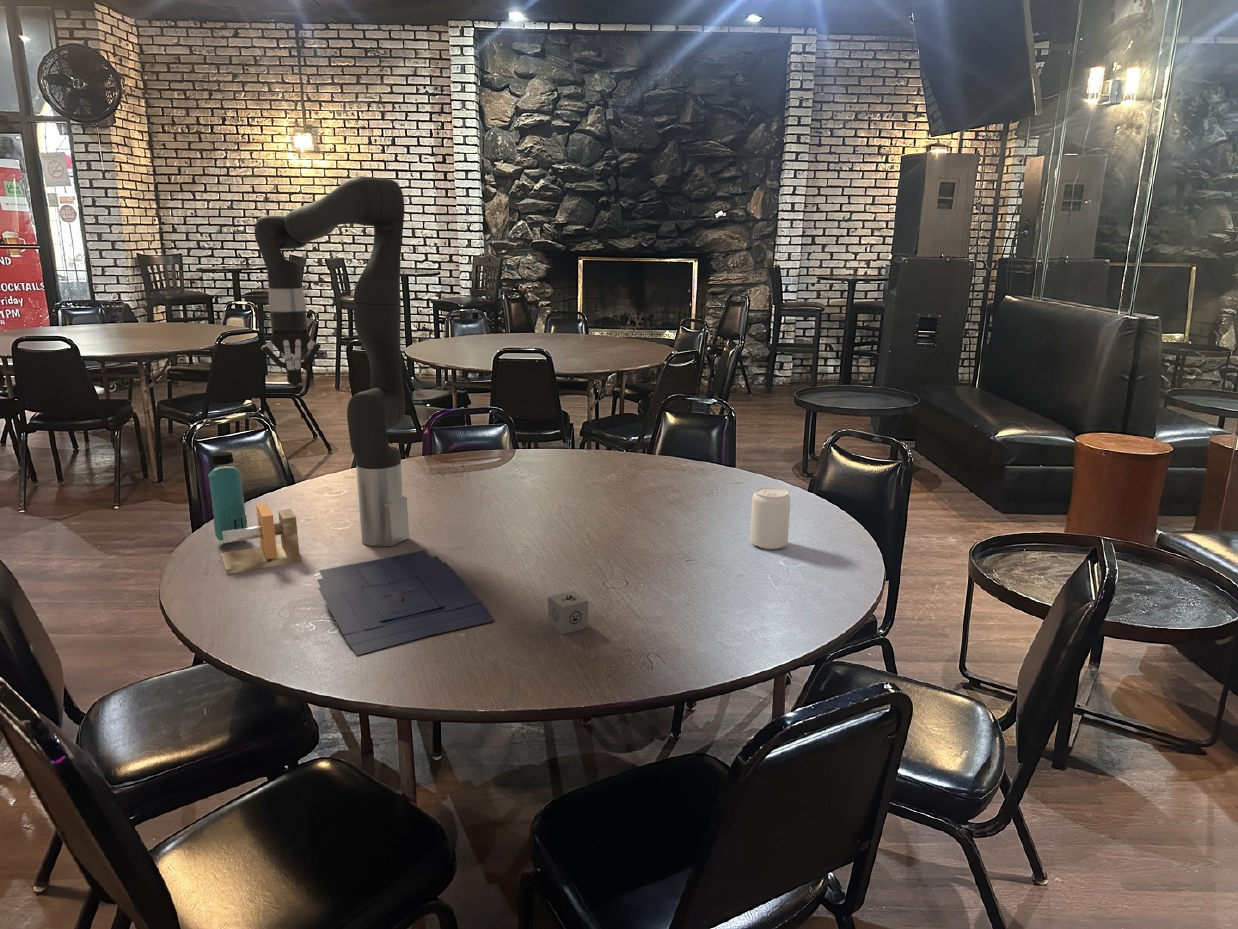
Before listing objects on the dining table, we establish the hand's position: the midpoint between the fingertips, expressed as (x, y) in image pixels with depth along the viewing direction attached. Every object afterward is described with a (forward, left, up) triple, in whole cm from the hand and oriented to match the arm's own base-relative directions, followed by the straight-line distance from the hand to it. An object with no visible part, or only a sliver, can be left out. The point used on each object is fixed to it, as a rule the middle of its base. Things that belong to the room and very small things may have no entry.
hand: (294, 385), depth 192 cm
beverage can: (-105, -28, -31) cm, 113 cm away
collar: (-14, +25, -30) cm, 41 cm away
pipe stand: (-13, +27, -31) cm, 43 cm away
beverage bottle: (0, +22, -31) cm, 38 cm away
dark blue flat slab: (-53, +32, -32) cm, 70 cm away
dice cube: (-84, +26, -31) cm, 93 cm away
